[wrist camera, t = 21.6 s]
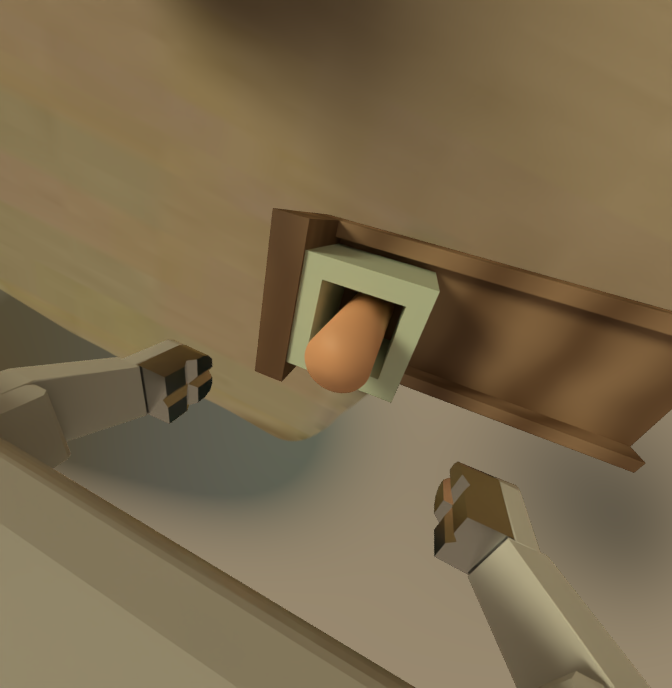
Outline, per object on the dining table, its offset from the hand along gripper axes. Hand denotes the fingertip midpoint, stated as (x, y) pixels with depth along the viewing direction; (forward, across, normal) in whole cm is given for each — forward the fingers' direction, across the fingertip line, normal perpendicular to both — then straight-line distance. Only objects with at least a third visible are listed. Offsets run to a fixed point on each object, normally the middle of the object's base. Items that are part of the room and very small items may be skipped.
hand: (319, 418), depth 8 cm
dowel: (+13, +1, 0) cm, 13 cm away
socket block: (+13, +1, 0) cm, 13 cm away
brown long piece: (+16, -6, 0) cm, 17 cm away
